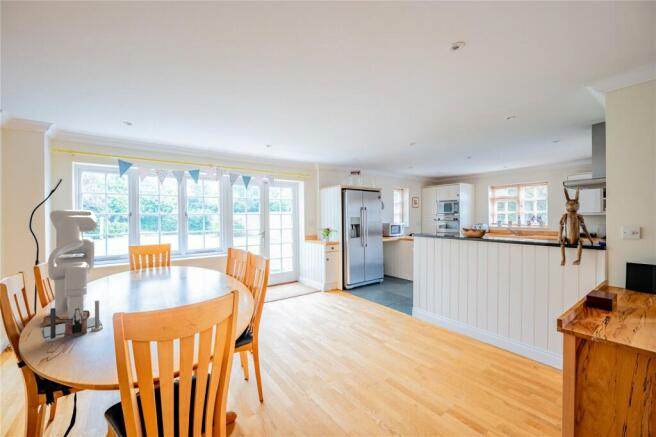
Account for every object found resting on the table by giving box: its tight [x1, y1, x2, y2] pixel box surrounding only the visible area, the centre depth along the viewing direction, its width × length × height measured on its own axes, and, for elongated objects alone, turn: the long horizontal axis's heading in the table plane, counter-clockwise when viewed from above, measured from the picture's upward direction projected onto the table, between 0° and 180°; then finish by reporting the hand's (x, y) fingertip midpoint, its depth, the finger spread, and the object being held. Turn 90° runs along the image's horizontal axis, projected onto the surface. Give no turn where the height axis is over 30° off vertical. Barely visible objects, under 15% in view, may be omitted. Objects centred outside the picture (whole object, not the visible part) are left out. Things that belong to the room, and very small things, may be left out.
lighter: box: [63, 312, 88, 338], centre depth 125 cm, size 8×3×10 cm, turn 114°
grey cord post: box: [90, 300, 104, 332], centre depth 131 cm, size 4×4×14 cm
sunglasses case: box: [40, 310, 91, 329], centre depth 141 cm, size 18×7×7 cm, turn 125°
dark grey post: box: [45, 307, 61, 343], centre depth 120 cm, size 4×4×14 cm
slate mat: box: [43, 316, 103, 339], centre depth 133 cm, size 14×20×1 cm
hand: (76, 330), depth 125 cm, fingers open, 5 cm apart
